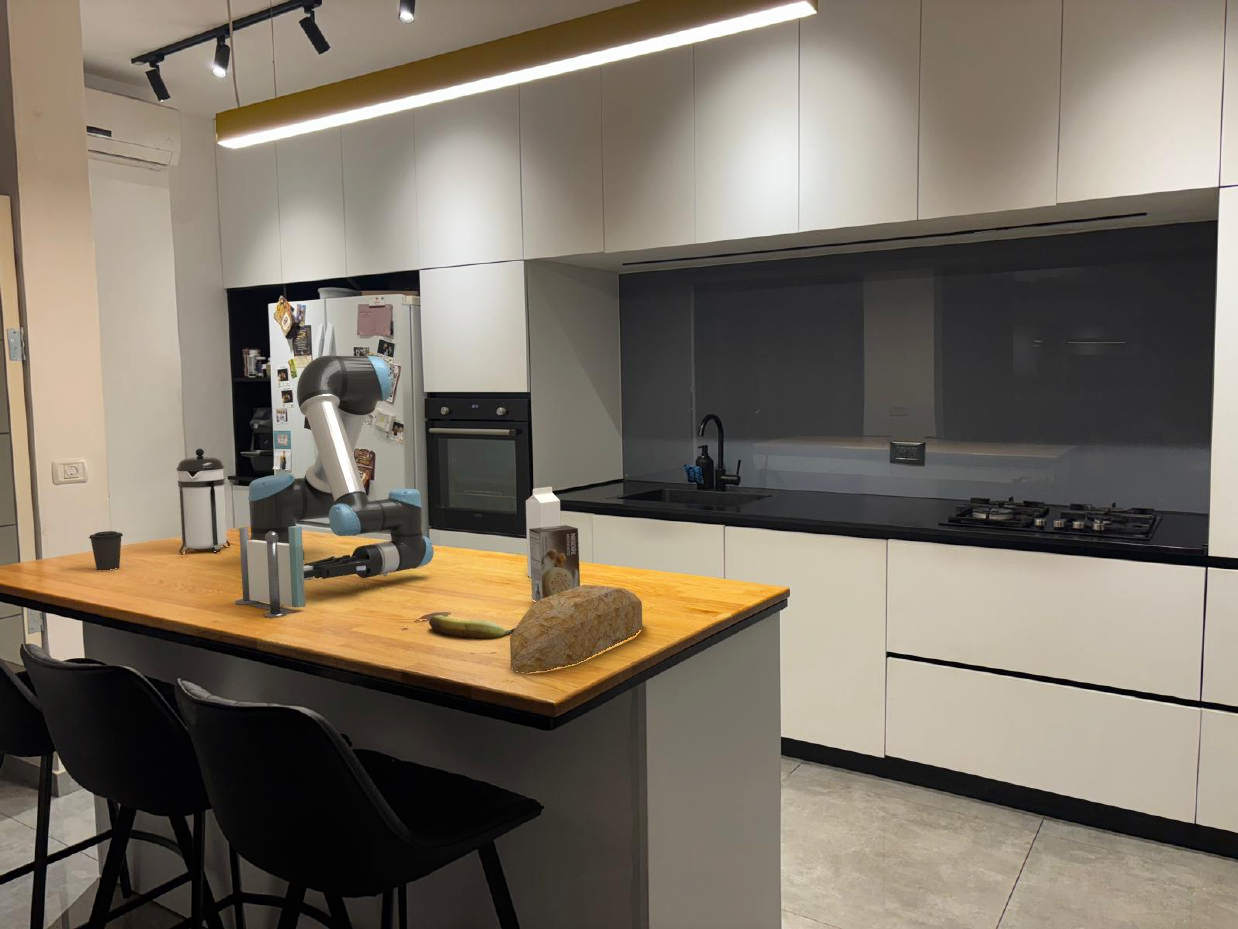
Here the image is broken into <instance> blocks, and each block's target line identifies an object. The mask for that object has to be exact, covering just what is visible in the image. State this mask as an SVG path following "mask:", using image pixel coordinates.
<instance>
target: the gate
mask: <svg viewBox="0 0 1238 929" xmlns="http://www.w3.org/2000/svg"><path fill="white" fill-rule="evenodd" d="M302 529H303V528H302V526H299V525H296V526H292V527H288V531H289V544H286V543H278V542H277V551H278V572H279V593H280V606H285V607H292V608H297V609H298V608H304V607H306V591H305V580H304V560H303V550H304V549H303V548H304V546H303V530H302ZM238 530H239V548H240V551H239V552H240V567H241V569H240V570H241V585H242V586H241V588H242V599H243V600H244V601H247V600H255V601H260V602H262V603H266V604H270V598H269V578H268V558H267V542H266V541H260V540H250V537H249V527H247V526H245V527H239V528H238ZM249 540H250V541H249Z"/></svg>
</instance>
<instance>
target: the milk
mask: <svg viewBox="0 0 1238 929" xmlns="http://www.w3.org/2000/svg"><path fill="white" fill-rule="evenodd" d="M525 515H526V516H525V518H526V519H525V521H526V524H525V525H526V554H527V556H526V557H527V558H526V562H527V567H526V568H527V577H528V576H529V577H531V559H530V533H529V529H531V528H541V527H552V526H561V500H560V498H558V497H557V496H556V495H555V494H554V493H553V487H552V486H546V487H536V488H533V489H532V495H531V496H530V497H528V498H527V499H526V500H525ZM529 577H528V578H529Z"/></svg>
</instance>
